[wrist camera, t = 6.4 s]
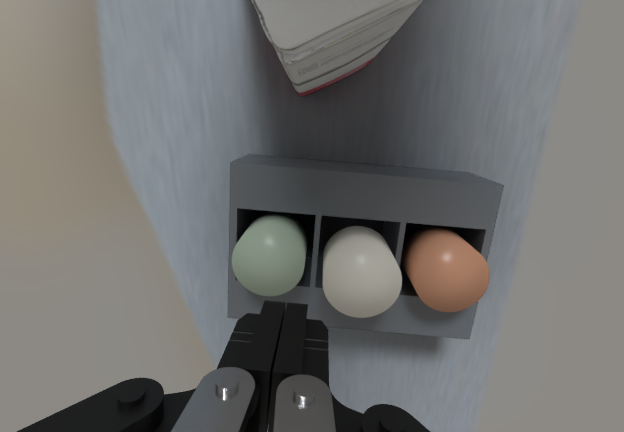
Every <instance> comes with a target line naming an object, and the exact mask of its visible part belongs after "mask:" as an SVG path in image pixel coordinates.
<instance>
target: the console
mask: <svg viewBox="0 0 624 432" xmlns="http://www.w3.org/2000/svg"><path fill="white" fill-rule="evenodd" d="M503 187H504V185H502V184H499V183H496V182H493V181H491V180H488V179H485V178H482V177H480V176H477V175H474V174H471V173H466V172H454V171H442V170H430V169H418V168H406V167H394V166H382V165H370V164H358V163H346V162H334V161H322V160H310V159H298V158H286V157H274V156H262V155H250V154H248V155H246V156H244V157H242V158H239V159H237V160H235V161H233V162H230V215H229V269H228V318H236V319H240V318H242V317H243V316H244V315H245V314H247V313H254V314H260V312H261V309H262V306H263V303H264V301H265V300H271V301H281V302H286V306H287V302H291V303H301V304H308V309H307V319H313V320H322V321H323V323H324V324H325V326H326V327H336V328H347V329H359V330H370V331H381V332H392V333H403V334H414V335H425V336H436V337H447V338H459V339H470V335H471V330H472V326H473V321H474V317H475V312H476V308H477V303H478V301H477V302H476V303H475V304H473V305H472V306H470V307H468V308H466V309H464V310H461V311H456V312H441V311H437V310H435V309H432V308H430V307H429V306H427V305H426V304H425V303H424V302H423V301H422V300H421V299H420V298H419V296H418V294H417V292H416V290H415V288H414V286H413V285H412V283H411V281H410V279H409V277H408V275H407V273H406V271H405V270H404V267H403V265H400V261H401V254H402V248H403V241H404V235H405V228H406V223H415V224H427V225H439V226H450V227H452V230H453V231H454V232H455V233H457V234H458V235H459V236H460V237H461V238H463V239H464V240H465V241H466V242H467V243H468V244H470V245H471V246H472V247H473V248H474V249H475V250H477V251H478V252H479V253H480V254H481V255H482V256H483V257H484V259H485V260H486V262H487V258H488V254H489V249H490V245H491V241H492V236H493V232H494V227H495V223H496V218H497V214H498V209H499V205H500V200H501V196H502V191H503ZM253 210H263V211H275V212H287V213H298V214H310V215H316V219H315V231H314V242H313V254H312V257H306V259H305V266H304V272H303V275H302V277H301V279H300V281H299V282H298V284H297V285H296V286H295V287H294V288H293V289H291V290H290V291H288V292H286V293H284V294H281V295H277V296H262V295H258V294H255V293H253V292H251V291H249V290H248V289H246V288H245V287H244V286H243V285H242V284H241V283H240V282H239V281H238V279H237V278H236V276H235V274H234V271H233V268H232V254H233V250H234V248H235V246H236V244H237V242H238V241H239V240H240V238H241V237H242V235H243V234H244V233H245V231H246V230H247V228H248V227H249V226H250V224H251V223H252V222H253ZM321 215H322V216H333V217H345V218H357V219H369V220H380V221H384V225H383V233H382V237H383V238H384V239H385V241H386V242H387V244H388V246H389V248H390V250H391V252H392V254H393V256H394V258H395V260H396V262H397V264H398V266H399V268H400V271H401V275H402V287H401V291H400V294H399V296H398V298H397V300H396V301H395V302H394V304H393V305H392V306H391V307H390V308H388V309H387V310H386V311H384V312H382V313H380V314H378V315H376V316H372V317H367V318H356V317H351V316H348V315H345V314H343V313H341V312H339V311H338V310H336V309H335V308H334V307H333V306H332V305H331V304H330V303H329V301H328V300H327V298H326V296H325V293H324V290H323V258H318V249H319V237H320V226H321ZM285 311H286V309H285Z"/></svg>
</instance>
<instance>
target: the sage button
mask: <svg viewBox="0 0 624 432" xmlns="http://www.w3.org/2000/svg"><path fill="white" fill-rule="evenodd" d="M307 243H308V242H307V236H306V233H305V230H304V229H303V227H302V226H301V224H300V223H299V222H298V221H297V220H296V219H294V218H293V217H291V216H289V215H287V214H283V213H278V212H273V213H267V214H264V215H261V216H259V217H258V218H256V219H255V220H254V221H253V222H252V223H251V224H250V226H249V227H248V228H247V230H246V231H245V233H244V234H243V235H242V237H241V238H240V240H239V241H238V242H237V244H236V246H235V248H234V250H233V254H232V268H233V271H234V274H235V276H236V278H237V279H238V281H239V282H240V283H241V284H242V285H243V286H244V287H245V288H246V289H248V290H249V291H251V292H253V293H255V294H258V295H262V296H277V295H281V294H284V293H286V292H288V291H290V290H291V289H293V288H294V287H295V286H296V285H297V284H298V282H299V281H300V279H301V277H302V275H303V272H304V266H305V259H306V252H307Z"/></svg>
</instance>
